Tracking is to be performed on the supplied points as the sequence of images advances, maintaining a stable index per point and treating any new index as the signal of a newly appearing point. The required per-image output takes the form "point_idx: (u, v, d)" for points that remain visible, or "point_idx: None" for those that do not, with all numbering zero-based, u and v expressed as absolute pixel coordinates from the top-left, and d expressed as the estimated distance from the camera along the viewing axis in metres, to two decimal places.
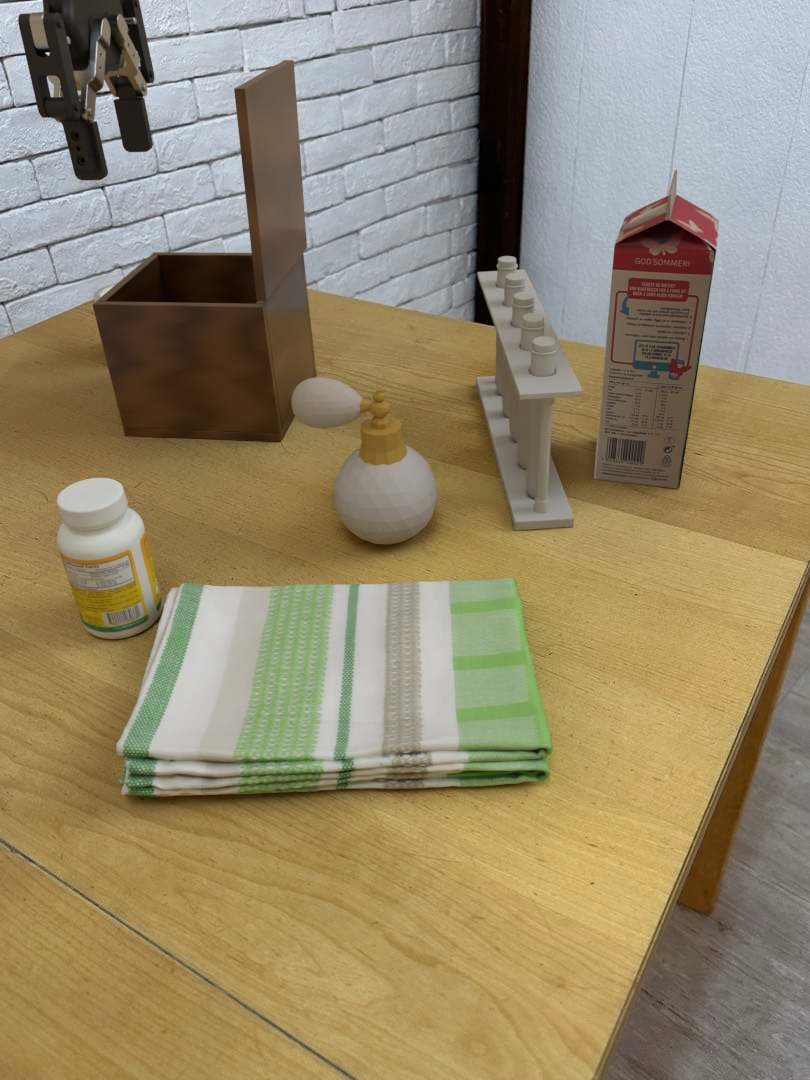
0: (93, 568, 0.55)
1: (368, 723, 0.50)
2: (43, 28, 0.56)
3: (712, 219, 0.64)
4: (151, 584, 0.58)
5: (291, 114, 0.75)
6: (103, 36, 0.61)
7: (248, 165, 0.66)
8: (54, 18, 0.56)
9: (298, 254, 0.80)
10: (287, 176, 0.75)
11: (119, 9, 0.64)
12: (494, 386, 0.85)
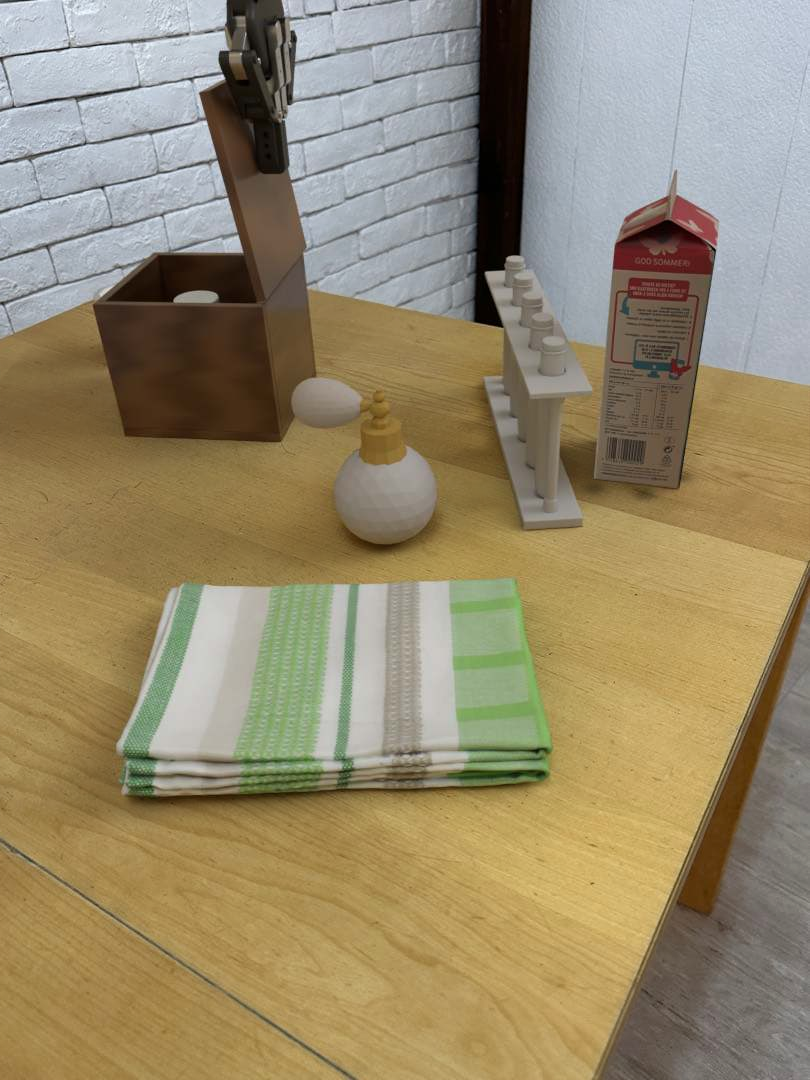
0: None
1: (368, 723, 0.50)
2: (243, 69, 0.63)
3: (712, 219, 0.64)
4: None
5: None
6: (278, 41, 0.66)
7: (225, 167, 0.67)
8: (252, 61, 0.63)
9: (297, 253, 0.80)
10: (272, 177, 0.75)
11: (282, 12, 0.69)
12: (501, 386, 0.85)
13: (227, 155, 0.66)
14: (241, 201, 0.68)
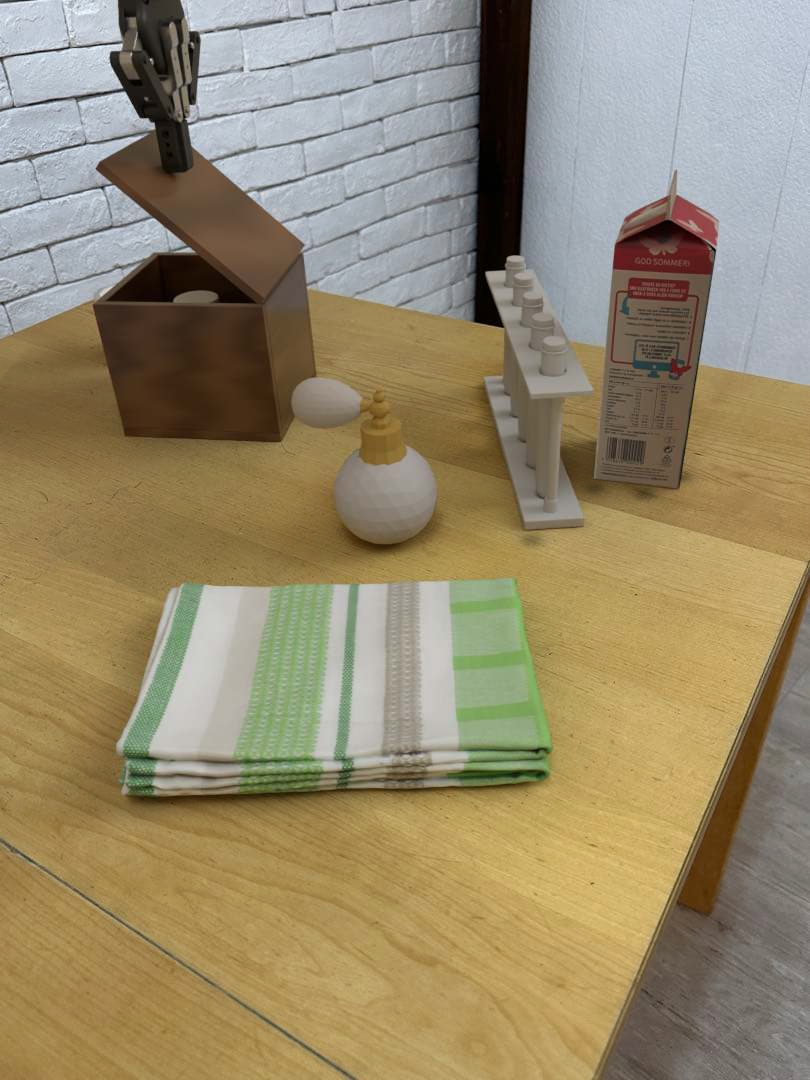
0: None
1: (368, 723, 0.50)
2: (134, 69, 0.64)
3: (712, 219, 0.64)
4: None
5: (194, 159, 0.78)
6: (173, 42, 0.67)
7: (154, 212, 0.69)
8: (142, 61, 0.64)
9: (293, 252, 0.80)
10: (224, 202, 0.77)
11: (182, 13, 0.70)
12: (502, 386, 0.85)
13: (149, 201, 0.69)
14: (187, 230, 0.70)
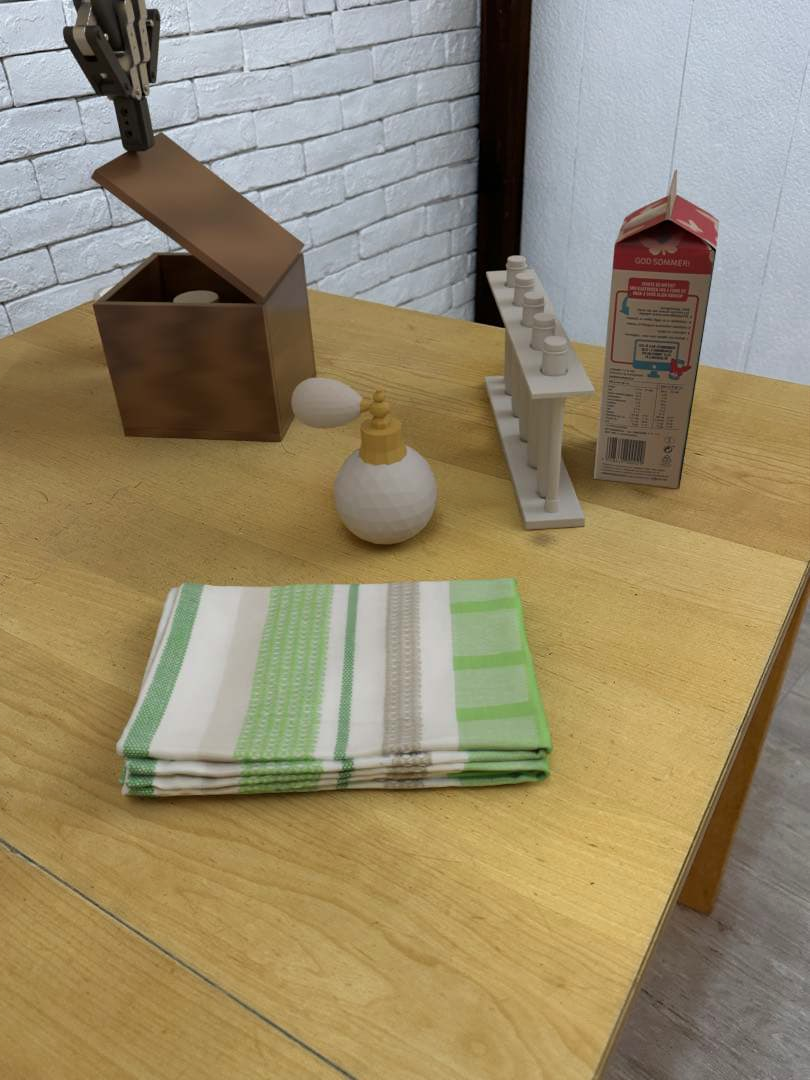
0: None
1: (368, 723, 0.50)
2: (88, 44, 0.64)
3: (712, 219, 0.64)
4: None
5: (190, 165, 0.79)
6: (129, 18, 0.67)
7: (151, 217, 0.70)
8: (95, 36, 0.63)
9: (293, 252, 0.80)
10: (222, 206, 0.77)
11: None
12: (503, 386, 0.85)
13: (145, 206, 0.69)
14: (184, 234, 0.70)
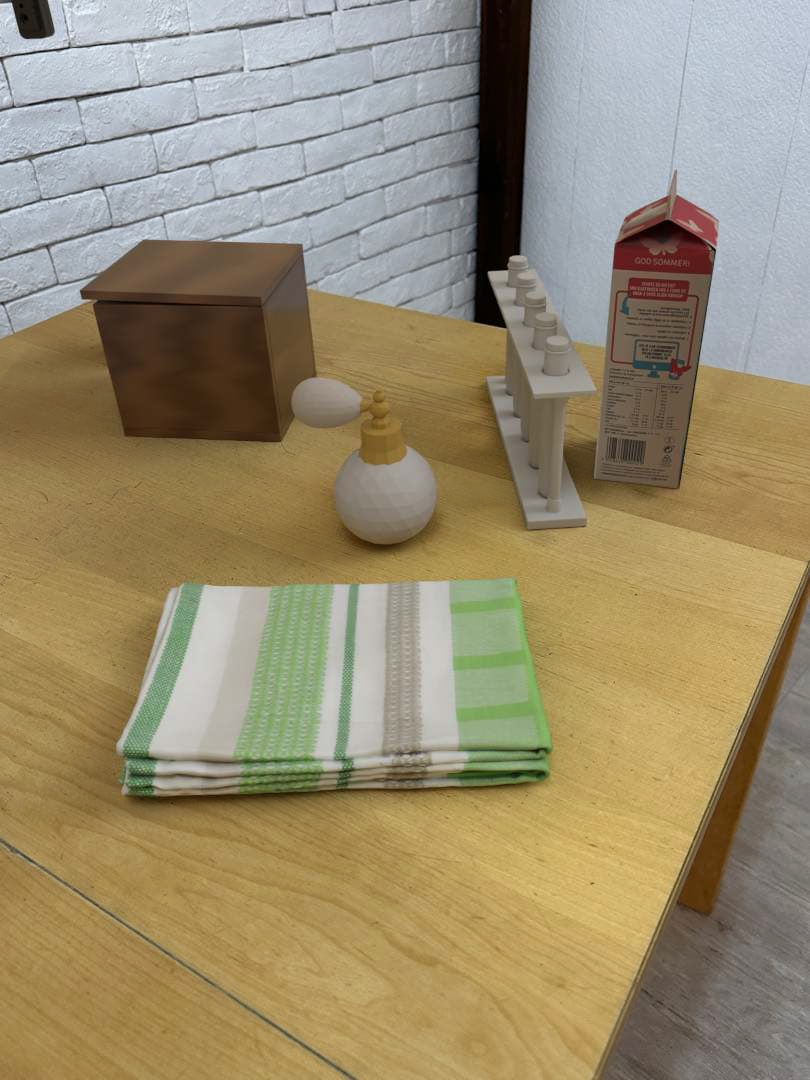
0: None
1: (368, 723, 0.50)
2: None
3: (712, 219, 0.64)
4: None
5: (174, 246, 0.83)
6: None
7: (139, 296, 0.74)
8: None
9: (289, 254, 0.80)
10: (209, 257, 0.80)
11: None
12: (504, 386, 0.85)
13: (131, 291, 0.74)
14: (171, 291, 0.73)
